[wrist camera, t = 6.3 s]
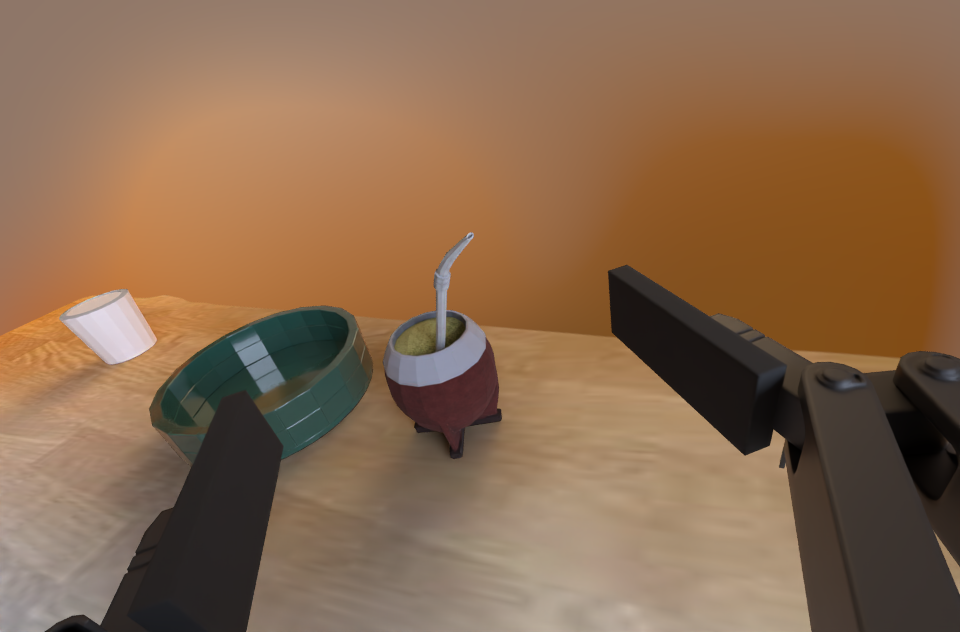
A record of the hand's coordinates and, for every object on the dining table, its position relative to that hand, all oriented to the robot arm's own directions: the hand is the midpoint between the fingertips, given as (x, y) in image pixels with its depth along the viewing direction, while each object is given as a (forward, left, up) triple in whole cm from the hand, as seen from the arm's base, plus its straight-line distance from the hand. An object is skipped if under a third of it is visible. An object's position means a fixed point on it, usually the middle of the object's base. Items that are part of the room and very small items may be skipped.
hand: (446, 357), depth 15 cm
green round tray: (-22, +11, -13) cm, 28 cm away
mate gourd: (-4, +8, -13) cm, 16 cm away
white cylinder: (-51, +19, -13) cm, 56 cm away
